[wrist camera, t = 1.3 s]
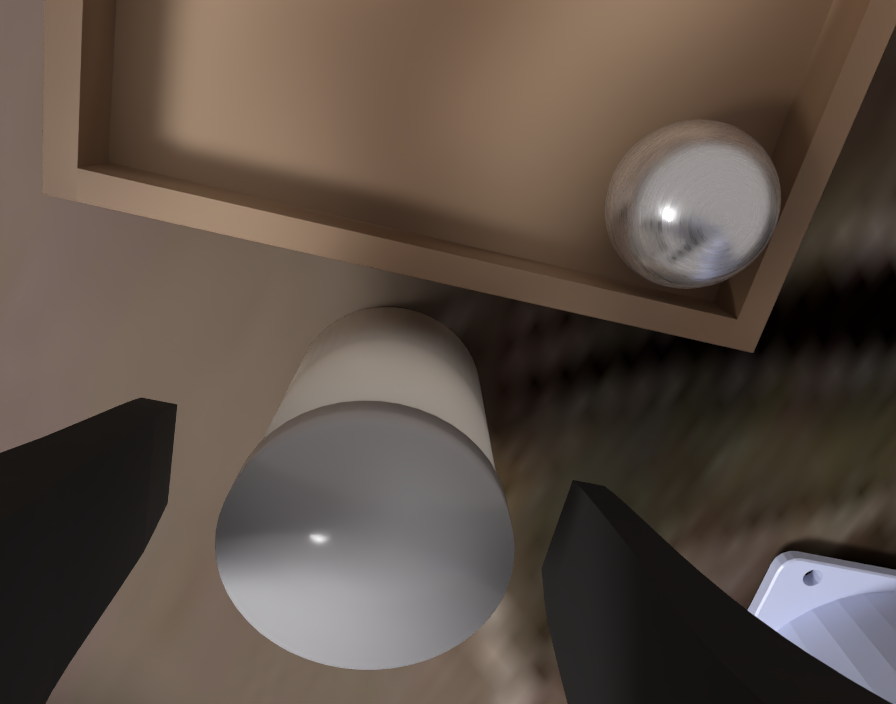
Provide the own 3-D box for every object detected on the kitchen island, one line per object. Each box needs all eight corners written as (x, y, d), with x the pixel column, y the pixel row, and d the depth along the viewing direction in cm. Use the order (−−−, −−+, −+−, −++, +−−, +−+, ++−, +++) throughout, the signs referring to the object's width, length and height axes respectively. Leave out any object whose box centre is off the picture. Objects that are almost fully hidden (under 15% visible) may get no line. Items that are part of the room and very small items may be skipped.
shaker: (505, 326, 15) (551, 458, 9) (458, 491, 17) (473, 688, 11) (309, 283, 15) (233, 395, 9) (280, 457, 16) (200, 645, 11)
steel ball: (757, 138, 13) (849, 147, 10) (702, 280, 14) (771, 326, 11) (615, 100, 13) (669, 100, 10) (570, 249, 14) (606, 288, 11)
